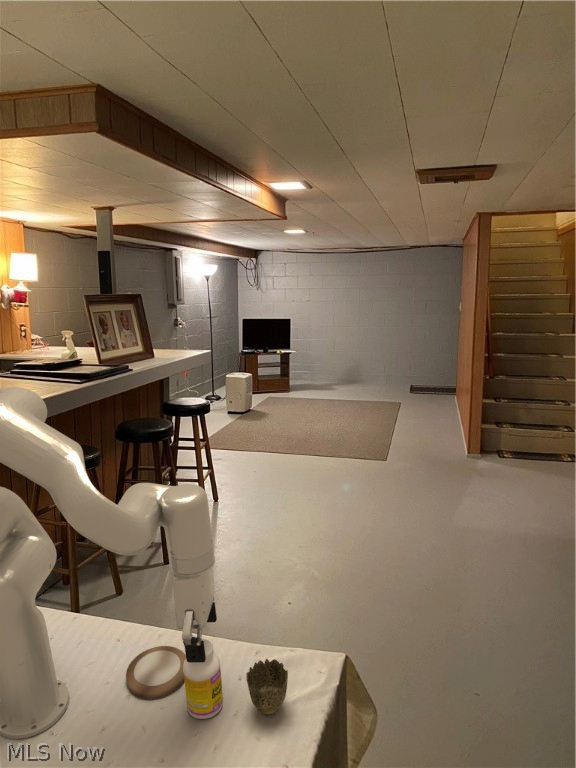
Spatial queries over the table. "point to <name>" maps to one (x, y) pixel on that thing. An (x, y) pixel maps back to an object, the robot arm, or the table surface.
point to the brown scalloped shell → (267, 685)
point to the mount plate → (156, 672)
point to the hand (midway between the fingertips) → (202, 640)
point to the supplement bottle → (203, 684)
